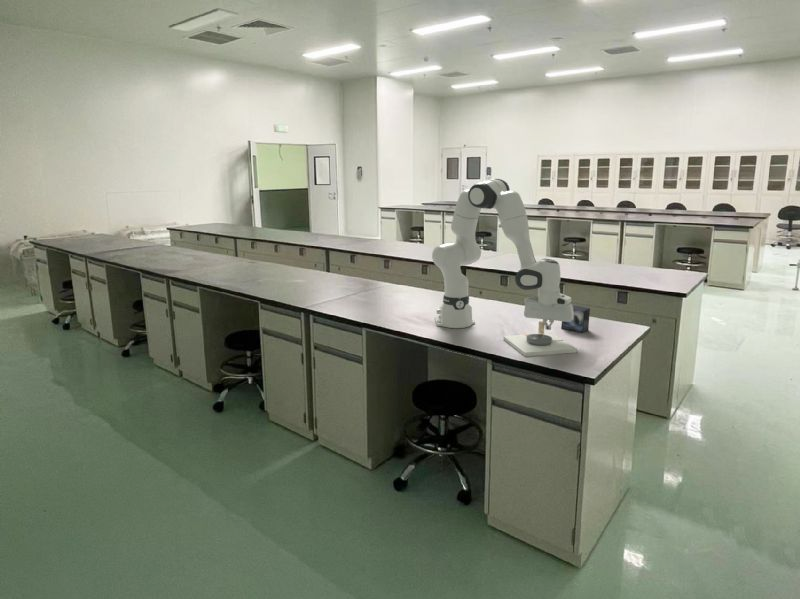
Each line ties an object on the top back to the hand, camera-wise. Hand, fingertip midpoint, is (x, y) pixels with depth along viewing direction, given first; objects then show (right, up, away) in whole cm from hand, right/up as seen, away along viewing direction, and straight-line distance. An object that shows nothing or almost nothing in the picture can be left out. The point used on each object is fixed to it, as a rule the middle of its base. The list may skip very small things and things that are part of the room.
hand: (548, 329), depth 220 cm
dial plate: (-6, -6, -6) cm, 10 cm away
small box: (+17, -1, +16) cm, 23 cm away
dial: (-5, -4, -4) cm, 7 cm away
